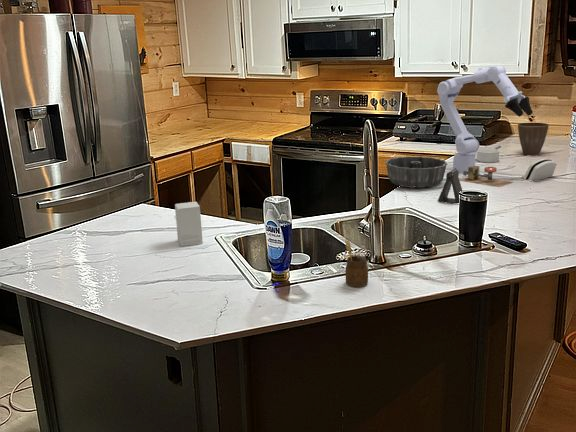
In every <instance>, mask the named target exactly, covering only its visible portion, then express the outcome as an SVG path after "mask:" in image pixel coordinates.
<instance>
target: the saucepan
mask: <svg viewBox="0 0 576 432" xmlns="http://www.w3.org/2000/svg"><path fill="white" fill-rule="evenodd" d="M501 147H502V146H497V147H494V148H479V149H478V150H477V151H476V160H477V161H478V162H479V161H480V163H483V164H484V163H485V164H489V163H490V164H491V163H496V162H498V161H499V160H500V151H501V150H500V148H501Z"/></svg>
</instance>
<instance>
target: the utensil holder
mask: <svg viewBox="0 0 576 432" xmlns="http://www.w3.org/2000/svg"><path fill="white" fill-rule="evenodd" d="M344 241H345V248H346V251H348V255H349V256H348V257H347V259H346V265H345V283H346V285H347V286H349V287H351V288H363V287H365V286H367V285H368V284H369V267H368V265H367V263H368V262H367V261H368V260H367V258H366V256H367V250H368V249H365V250H363V248H366V246H365V245H361V246H360V247H359V248H358V249H357V250H363V253H364V254H362V255H361V251H356V252H357V253H356V254H359V255H352V254H351V250H352V246H351V243H350V238H349V237H347V238H345V239H344Z"/></svg>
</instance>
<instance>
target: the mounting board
mask: <svg viewBox="0 0 576 432" xmlns="http://www.w3.org/2000/svg"><path fill="white" fill-rule="evenodd" d="M479 178H481V179H479V180H476V181H469V180H465V179H468V176H467V177H463V178H461V179H460V178H459V181H460V182H466V183H470V184H478V185H482V186H489V187H496V188H502V187H504V186H507V185H508V186H509V185H511V184H513V183H515V181H511V180H510V181H509V180H502V179H496V178H492V180H488V178H486V177H480V176H479Z"/></svg>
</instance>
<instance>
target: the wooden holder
mask: <svg viewBox="0 0 576 432" xmlns="http://www.w3.org/2000/svg"><path fill="white" fill-rule="evenodd" d="M474 173H480V166H479V165H475V166H471V167H468V175H467V177H468V179H465V180H469V181H476V180H479V179H481V178H479V177H480V176H474Z"/></svg>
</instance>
